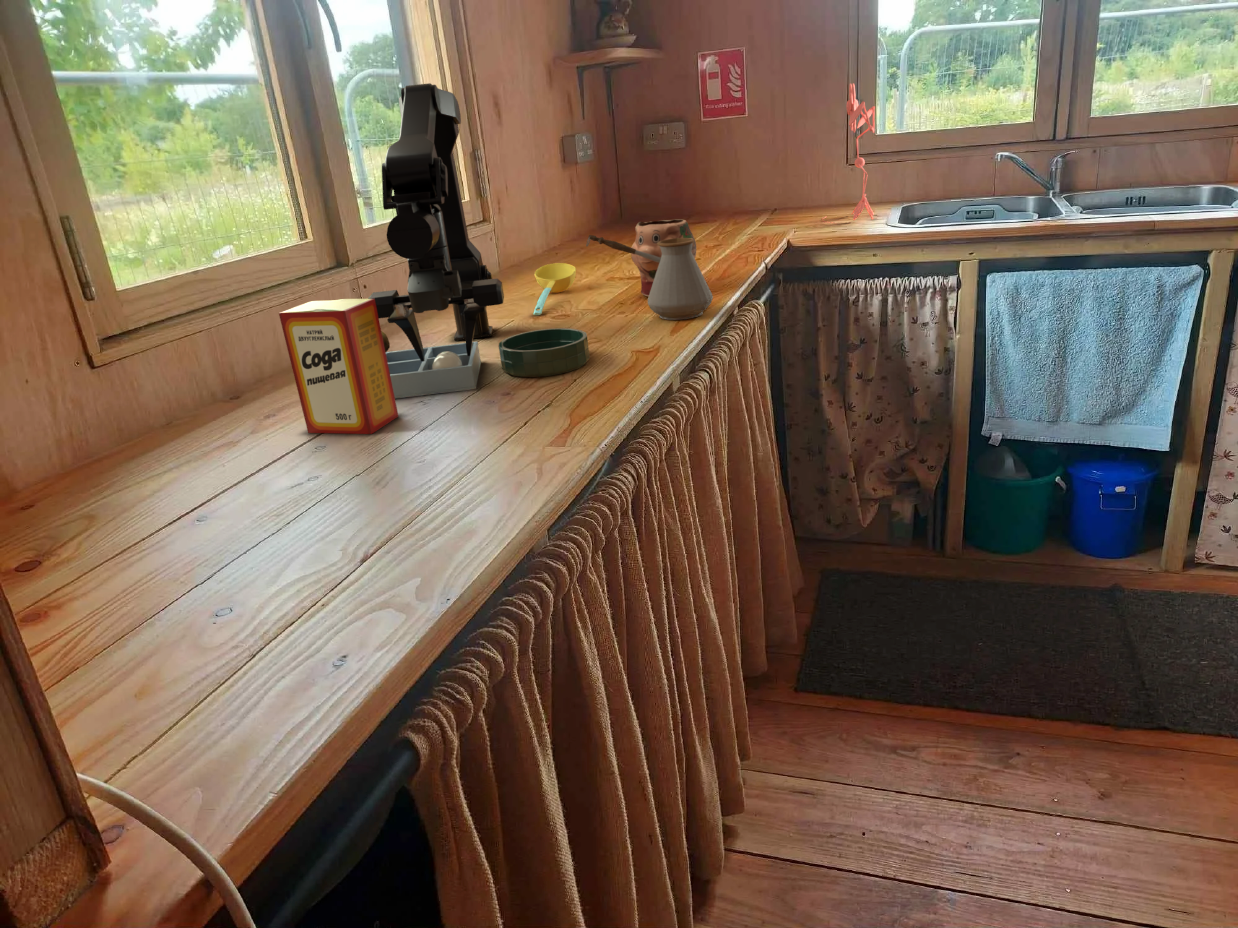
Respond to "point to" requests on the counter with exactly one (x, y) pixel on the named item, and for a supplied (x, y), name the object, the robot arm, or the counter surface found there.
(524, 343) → the bowl
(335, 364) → the baking soda box
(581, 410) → the counter surface
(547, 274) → the ladle
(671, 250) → the coffee pot
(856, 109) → the figurine
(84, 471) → the counter surface
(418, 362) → the divided tray
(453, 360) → the egg
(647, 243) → the decorative planter
